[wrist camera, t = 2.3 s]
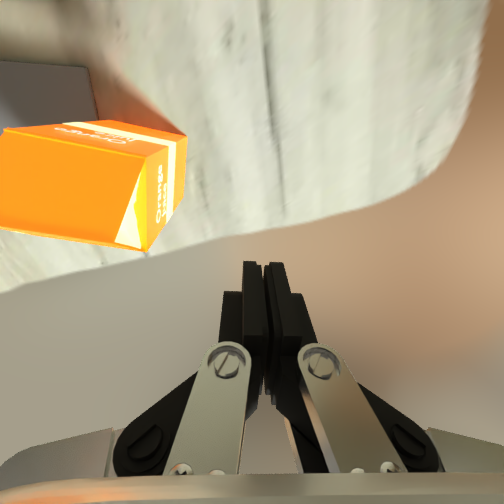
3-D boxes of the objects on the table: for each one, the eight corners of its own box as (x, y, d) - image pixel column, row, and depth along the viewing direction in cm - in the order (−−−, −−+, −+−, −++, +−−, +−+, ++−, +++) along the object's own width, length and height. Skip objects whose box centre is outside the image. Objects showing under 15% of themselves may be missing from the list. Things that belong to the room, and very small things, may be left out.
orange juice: (109, 118, 28) (-105, 133, 11) (188, 135, 29) (110, 174, 12) (114, 185, 32) (-39, 278, 14) (183, 198, 33) (119, 298, 16)
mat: (-157, 48, 24) (-166, 47, 24) (87, 68, 26) (84, 67, 25) (-55, 219, 33) (-60, 221, 33) (122, 226, 35) (120, 228, 34)
